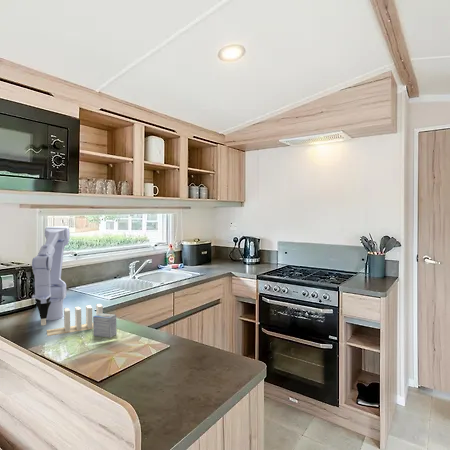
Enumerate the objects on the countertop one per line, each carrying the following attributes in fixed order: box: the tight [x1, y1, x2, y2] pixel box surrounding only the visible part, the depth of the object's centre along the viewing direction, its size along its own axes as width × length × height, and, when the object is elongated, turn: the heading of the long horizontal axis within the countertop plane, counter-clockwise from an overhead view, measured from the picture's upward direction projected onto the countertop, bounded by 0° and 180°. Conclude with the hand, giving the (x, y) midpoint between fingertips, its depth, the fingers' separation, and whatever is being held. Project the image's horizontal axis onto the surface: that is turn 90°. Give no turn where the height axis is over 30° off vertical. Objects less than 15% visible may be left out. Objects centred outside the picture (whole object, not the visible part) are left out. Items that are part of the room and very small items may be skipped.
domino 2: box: [63, 307, 71, 332], centre depth 139 cm, size 5×2×8 cm, turn 31°
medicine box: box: [92, 313, 118, 338], centre depth 134 cm, size 8×4×9 cm, turn 74°
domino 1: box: [40, 318, 47, 326], centre depth 140 cm, size 5×2×8 cm, turn 31°
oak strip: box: [46, 322, 93, 337], centre depth 142 cm, size 8×24×1 cm, turn 121°
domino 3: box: [74, 306, 82, 330], centre depth 141 cm, size 5×2×8 cm, turn 31°
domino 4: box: [85, 304, 93, 328], centre depth 144 cm, size 5×2×8 cm, turn 31°
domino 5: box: [95, 303, 104, 315], centre depth 146 cm, size 5×2×8 cm, turn 31°
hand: (43, 316), depth 141 cm, fingers closed on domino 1, 5 cm apart
